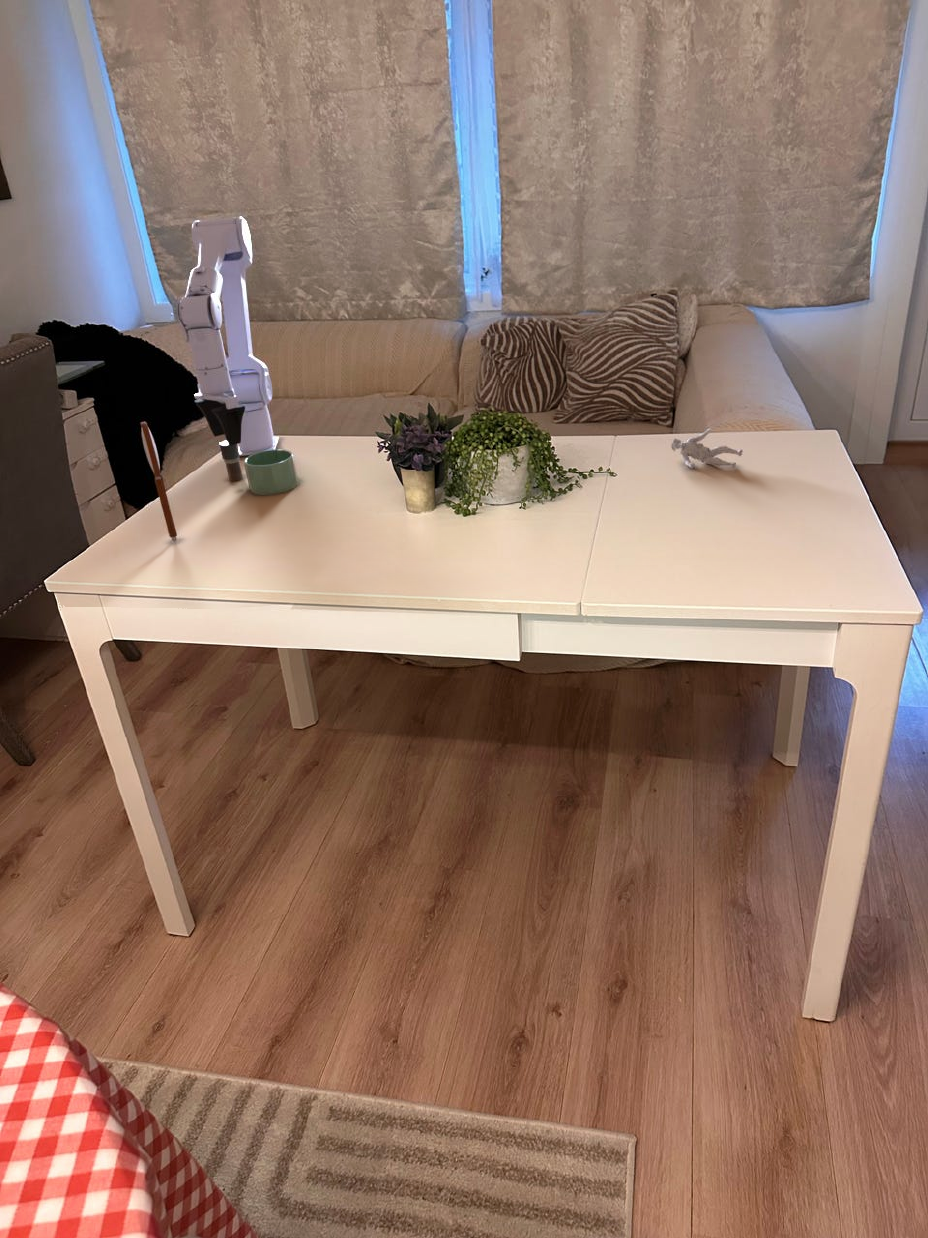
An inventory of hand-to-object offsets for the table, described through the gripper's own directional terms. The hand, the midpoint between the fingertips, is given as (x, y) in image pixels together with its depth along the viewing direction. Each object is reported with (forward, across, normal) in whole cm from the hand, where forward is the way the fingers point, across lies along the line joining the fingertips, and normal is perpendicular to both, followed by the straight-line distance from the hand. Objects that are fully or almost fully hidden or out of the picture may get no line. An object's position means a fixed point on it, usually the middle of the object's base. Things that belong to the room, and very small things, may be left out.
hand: (227, 439), depth 170 cm
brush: (+8, -1, 0) cm, 8 cm away
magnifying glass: (+8, +20, -19) cm, 29 cm away
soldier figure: (+8, +58, +64) cm, 87 cm away
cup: (+8, +9, +4) cm, 12 cm away
